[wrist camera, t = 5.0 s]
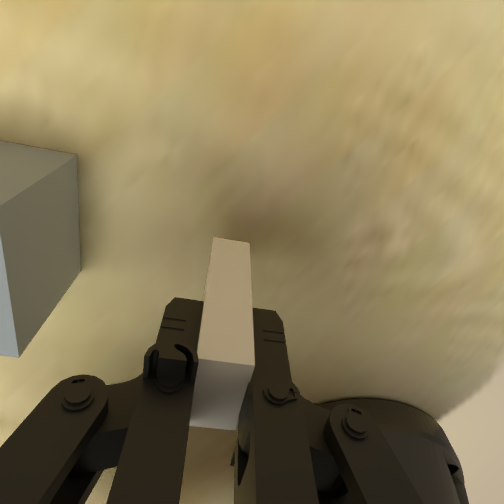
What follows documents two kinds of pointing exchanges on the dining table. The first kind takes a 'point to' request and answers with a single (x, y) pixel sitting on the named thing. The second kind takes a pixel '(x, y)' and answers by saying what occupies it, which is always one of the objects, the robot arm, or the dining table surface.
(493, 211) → the dining table surface
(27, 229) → the grey block
